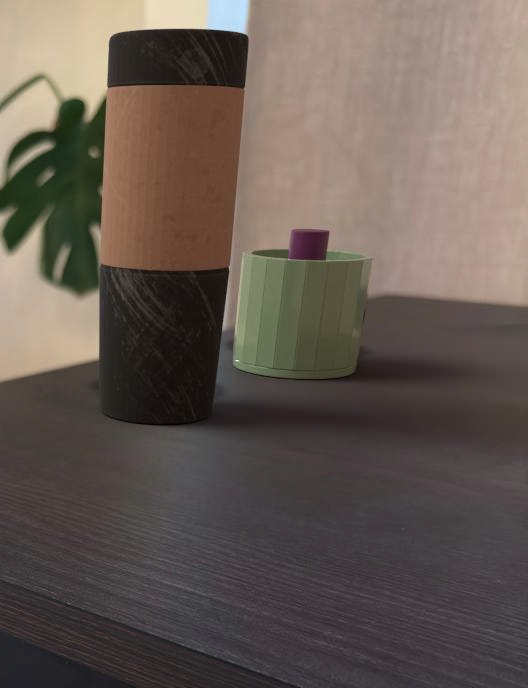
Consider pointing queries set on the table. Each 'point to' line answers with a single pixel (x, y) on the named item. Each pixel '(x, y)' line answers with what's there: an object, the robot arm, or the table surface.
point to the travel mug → (167, 219)
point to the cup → (301, 313)
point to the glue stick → (308, 244)
